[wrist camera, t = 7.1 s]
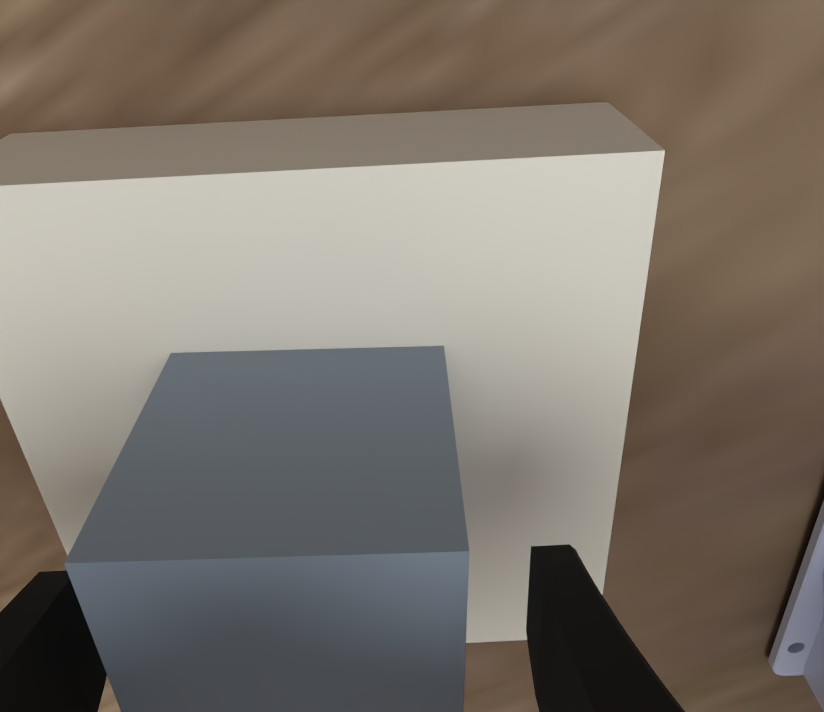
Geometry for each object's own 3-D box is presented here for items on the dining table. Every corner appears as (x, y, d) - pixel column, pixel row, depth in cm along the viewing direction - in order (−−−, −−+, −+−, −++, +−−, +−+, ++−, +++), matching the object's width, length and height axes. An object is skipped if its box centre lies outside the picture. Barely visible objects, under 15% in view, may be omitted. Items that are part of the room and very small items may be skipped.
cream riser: (563, 519, 21) (596, 636, 18) (157, 540, 21) (112, 661, 18) (601, 96, 15) (665, 150, 11) (22, 127, 15) (-88, 190, 11)
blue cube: (441, 540, 16) (461, 771, 11) (214, 547, 16) (148, 782, 11) (444, 346, 13) (469, 551, 9) (171, 352, 13) (63, 563, 9)
